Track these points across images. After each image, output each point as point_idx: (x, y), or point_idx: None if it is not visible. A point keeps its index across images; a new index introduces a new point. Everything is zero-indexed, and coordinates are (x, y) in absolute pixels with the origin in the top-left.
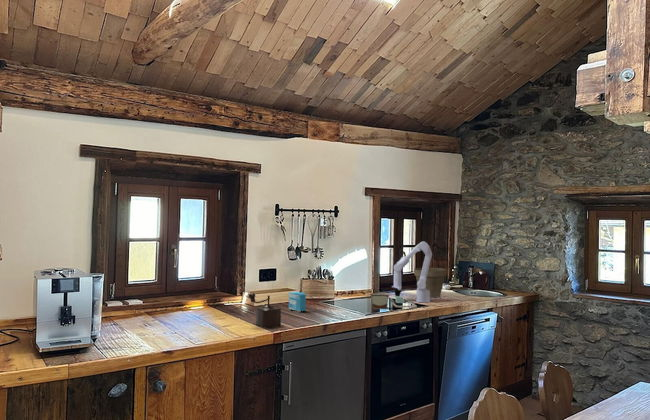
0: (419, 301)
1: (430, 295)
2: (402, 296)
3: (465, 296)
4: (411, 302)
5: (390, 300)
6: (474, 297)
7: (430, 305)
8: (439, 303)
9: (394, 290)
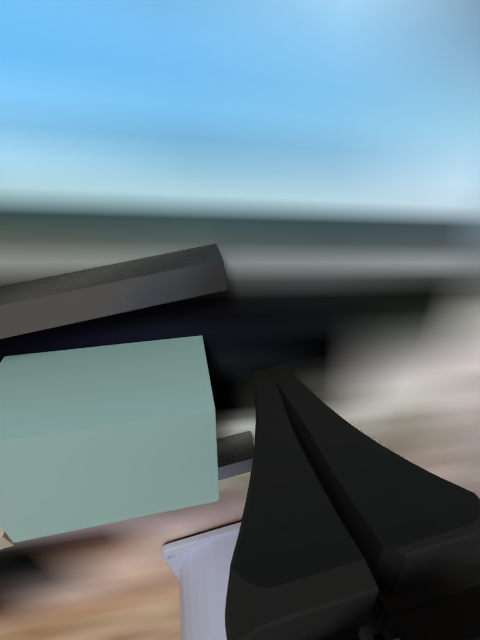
0: (181, 558)
1: None
2: (197, 505)
3: None
4: (9, 546)
5: (215, 248)
6: None
7: (7, 627)
8: (157, 626)
9: (299, 547)
